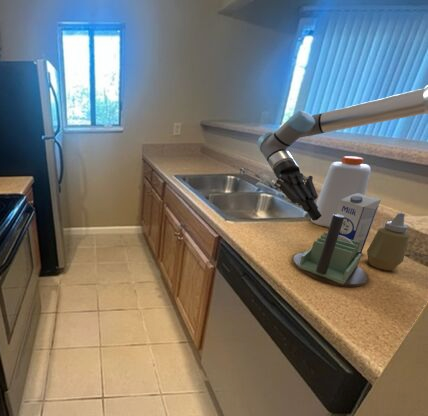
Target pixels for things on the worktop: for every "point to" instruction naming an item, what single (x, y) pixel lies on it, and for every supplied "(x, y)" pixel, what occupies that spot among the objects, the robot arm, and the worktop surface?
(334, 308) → the worktop surface
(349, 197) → the milk carton
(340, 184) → the plastic bottle
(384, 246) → the squeeze bottle
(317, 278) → the turntable
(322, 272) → the dish rack
